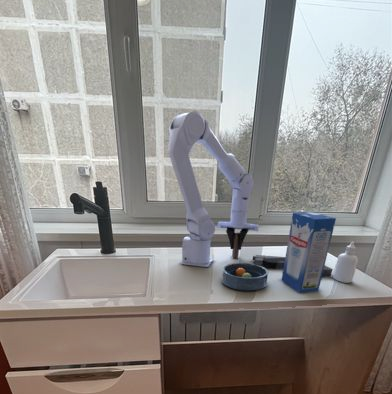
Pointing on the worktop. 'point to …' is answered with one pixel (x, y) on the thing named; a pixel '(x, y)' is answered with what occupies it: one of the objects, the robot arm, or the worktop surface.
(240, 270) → the bead
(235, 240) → the stirring stick
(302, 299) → the worktop surface
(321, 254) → the milk carton
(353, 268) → the eye dropper bottle
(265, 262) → the pistol
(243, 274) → the bead
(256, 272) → the bowl
